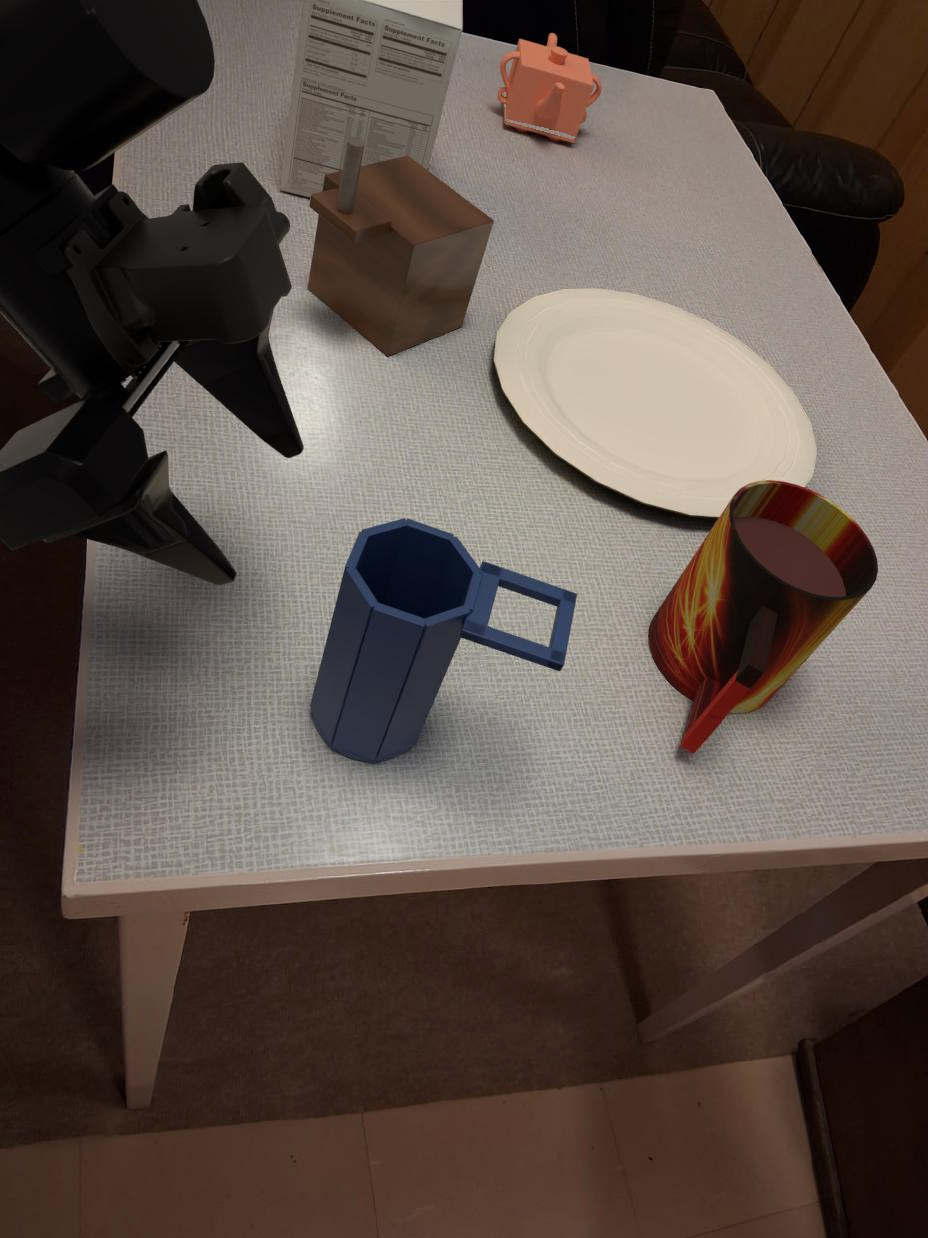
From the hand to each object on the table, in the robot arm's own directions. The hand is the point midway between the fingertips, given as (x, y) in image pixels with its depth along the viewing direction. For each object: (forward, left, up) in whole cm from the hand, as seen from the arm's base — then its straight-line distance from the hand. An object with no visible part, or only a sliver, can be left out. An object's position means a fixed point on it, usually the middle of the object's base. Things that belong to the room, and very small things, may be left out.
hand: (264, 513), depth 46 cm
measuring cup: (+10, +1, -13) cm, 17 cm away
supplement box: (-14, +59, -13) cm, 62 cm away
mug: (+29, +14, -13) cm, 34 cm away
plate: (+20, +41, -13) cm, 47 cm away
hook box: (-5, +38, -13) cm, 41 cm away
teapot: (-1, +86, -13) cm, 87 cm away
